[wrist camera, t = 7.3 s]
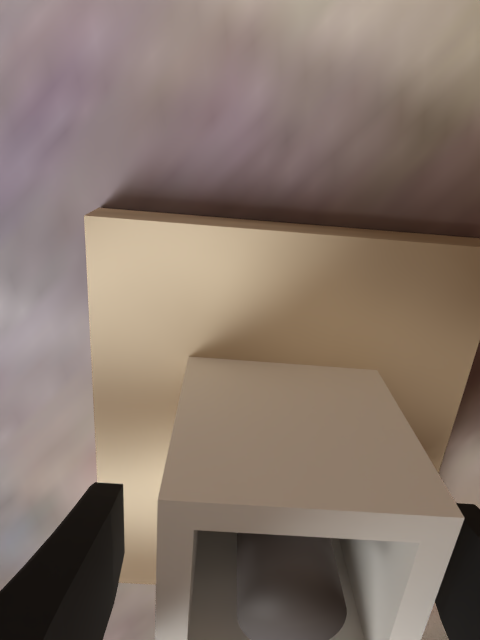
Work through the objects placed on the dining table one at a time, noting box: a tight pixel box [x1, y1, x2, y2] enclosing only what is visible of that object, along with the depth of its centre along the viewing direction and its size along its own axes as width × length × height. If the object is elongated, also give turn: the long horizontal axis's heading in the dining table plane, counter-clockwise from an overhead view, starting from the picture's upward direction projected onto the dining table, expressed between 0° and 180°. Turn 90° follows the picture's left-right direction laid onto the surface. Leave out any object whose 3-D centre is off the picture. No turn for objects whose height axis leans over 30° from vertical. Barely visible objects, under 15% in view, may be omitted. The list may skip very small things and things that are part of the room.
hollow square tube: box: [155, 356, 465, 640], centre depth 11 cm, size 5×5×5 cm
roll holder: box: [84, 208, 480, 640], centre depth 11 cm, size 12×10×6 cm
